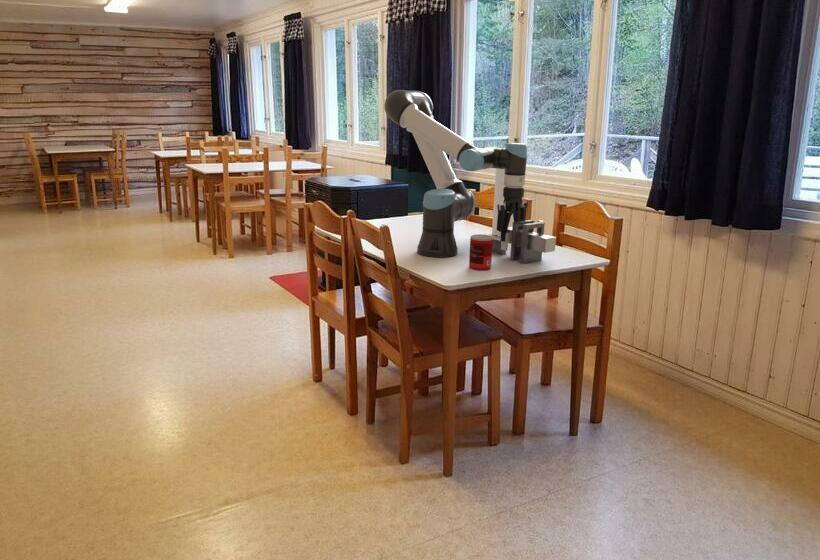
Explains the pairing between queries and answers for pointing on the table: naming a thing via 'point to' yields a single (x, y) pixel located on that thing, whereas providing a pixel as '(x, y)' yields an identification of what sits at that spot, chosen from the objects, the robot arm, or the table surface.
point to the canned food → (480, 252)
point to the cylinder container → (499, 200)
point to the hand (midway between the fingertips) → (509, 248)
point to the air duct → (535, 240)
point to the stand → (497, 246)
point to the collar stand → (525, 242)
